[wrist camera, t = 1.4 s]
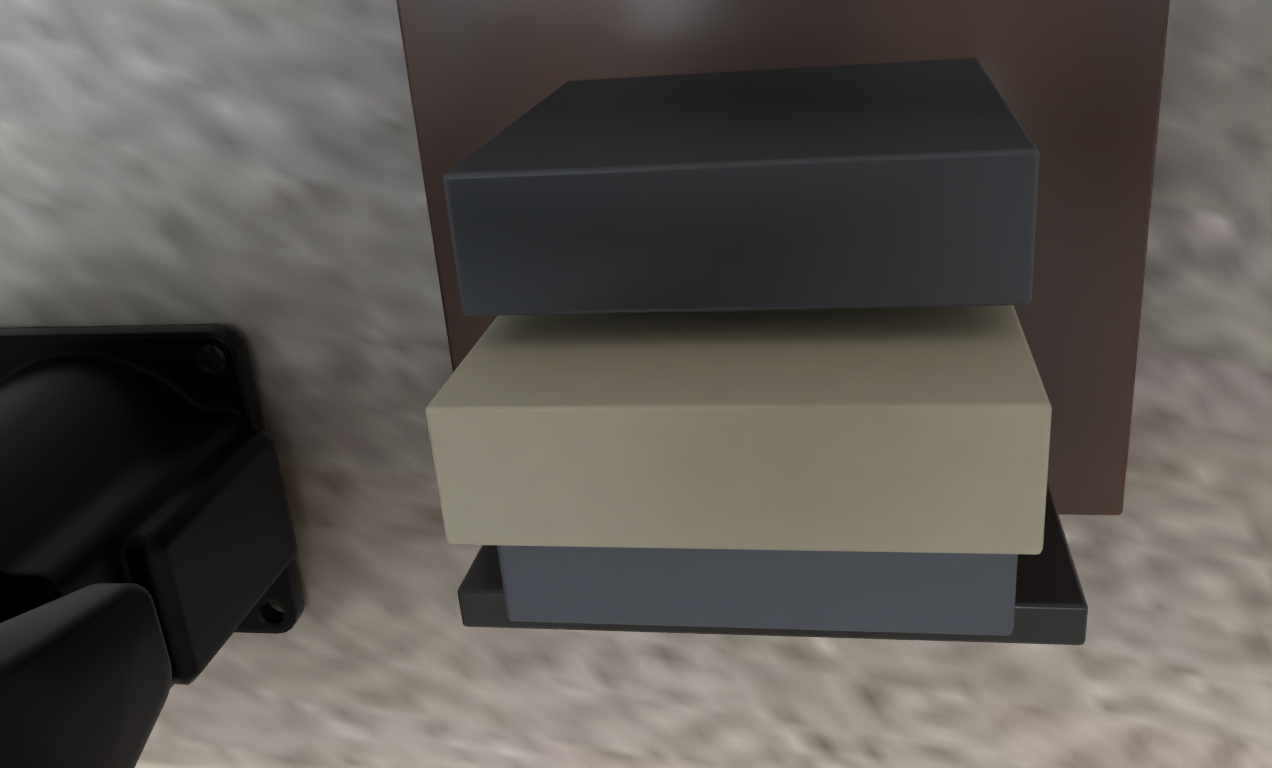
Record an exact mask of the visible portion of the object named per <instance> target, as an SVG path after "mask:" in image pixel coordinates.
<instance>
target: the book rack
mask: <svg viewBox="0 0 1272 768" xmlns="http://www.w3.org/2000/svg"><path fill="white" fill-rule="evenodd" d="M396 1H397V7H398V14H399V20H400V27H401V34H402V40H403V47H404V53H405V60H406V66H407V73H408V80H409V86H410V93H411V99H412V106H413V112H414V119H415V126H416V132H417V139H418V145H419V152H420V158H421V165H422V171H423V178H424V185H425V191H426V198H427V204H428V211H429V217H430V224H431V231H432V237H433V244H434V250H435V257H436V263H437V270H438V277H439V283H440V290H441V296H442V303H443V309H444V316H445V323H446V329H447V336H448V342H449V349H450V355H451V362H452V369H453V372H454V371H455V370H456V368H457V367H458V366H459V365H460V363H461V362H462V361H463V359H464V358H465V357H466V356H467V354H468V353H469V352H470V351H471V349H472V348H473V347H474V345H475V344H476V343H477V342H478V340H479V339H480V338H481V337H482V335H483V334H484V333H485V331H486V330H487V329H488V328H489V326H490V325H491V324H492V323H493V321H494V320H495V319H496V317H497V316H465V315H464V314H463V312H462V305H461V298H460V291H459V285H458V278H457V271H456V264H455V257H454V250H453V243H452V237H451V230H450V223H449V216H448V209H447V202H446V195H445V189H444V182H443V177H444V174H446V173H447V172H448V171H449V170H451V169H452V168H453V167H455V166H456V165H457V164H459V163H460V162H461V161H463V160H464V159H465V158H467V157H468V156H469V155H471V154H472V153H473V152H475V151H476V150H477V149H479V148H480V147H481V146H483V145H484V144H485V143H487V142H488V141H489V140H491V139H492V138H493V137H494V136H496V135H497V134H498V133H500V132H501V131H502V130H504V129H505V128H506V127H508V126H509V125H510V124H512V123H513V122H514V121H516V120H517V119H518V118H520V117H521V116H522V115H524V114H525V113H526V112H528V111H529V110H530V109H532V108H533V107H534V106H536V105H537V104H538V103H539V102H541V101H542V100H543V99H545V98H546V97H547V96H549V95H550V94H551V93H553V92H554V91H555V90H557V89H558V88H559V87H561V86H562V85H563V84H565V83H566V82H568V81H580V80H598V79H615V78H633V77H650V76H668V75H685V74H703V73H720V72H738V71H755V70H773V69H790V68H808V67H825V66H843V65H860V64H878V63H895V62H913V61H930V60H948V59H965V58H976V59H978V61H979V62H980V64H981V65H982V67H983V68H984V70H985V71H986V73H987V74H988V76H989V77H990V79H991V80H992V82H993V83H994V85H995V86H996V88H997V89H998V90H999V92H1000V93H1001V95H1002V96H1003V98H1004V99H1005V101H1006V102H1007V104H1008V105H1009V107H1010V108H1011V110H1012V111H1013V113H1014V114H1015V116H1016V117H1017V119H1018V120H1019V122H1020V123H1021V125H1022V126H1023V128H1024V129H1025V131H1026V132H1027V134H1028V135H1029V137H1030V138H1031V140H1032V141H1033V143H1034V144H1035V146H1036V147H1037V149H1038V151H1039V170H1038V189H1037V208H1036V227H1035V245H1034V264H1033V283H1032V300H1031V302H1030V304H1027V305H1013V306H1014V309H1015V311H1016V314H1017V317H1018V319H1019V322H1020V325H1021V327H1022V330H1023V333H1024V335H1025V338H1026V341H1027V343H1028V346H1029V349H1030V351H1031V354H1032V357H1033V359H1034V362H1035V365H1036V367H1037V370H1038V373H1039V375H1040V378H1041V381H1042V383H1043V386H1044V389H1045V391H1046V394H1047V397H1048V399H1049V402H1050V405H1051V407H1052V412H1051V428H1050V444H1049V460H1048V476H1047V492H1046V507H1045V523H1044V539H1043V549H1042V551H1041V553H1040V554H1018V558H1017V576H1016V595H1015V614H1014V629H1013V631H1012V633H1011V635H1007V636H1002V635H968V634H934V633H900V632H865V631H831V630H797V629H763V628H728V627H694V626H660V625H625V624H591V623H557V622H523V621H511V620H509V619H508V616H507V610H506V603H505V596H504V589H503V582H502V576H501V569H500V562H499V555H498V548H497V545H482V547H481V549H480V550H479V552H478V554H477V556H476V558H475V560H474V561H473V563H472V565H471V567H470V569H469V571H468V573H467V574H466V576H465V578H464V580H463V582H462V584H461V585H460V587H459V589H458V597H459V603H460V609H461V615H462V622H463V625H464V626H468V627H501V628H534V629H567V630H600V631H633V632H666V633H699V634H733V635H766V636H799V637H832V638H865V639H898V640H931V641H964V642H997V643H1030V644H1063V645H1082V644H1084V642H1085V639H1086V627H1087V615H1088V606H1087V603H1086V600H1085V596H1084V593H1083V590H1082V587H1081V584H1080V581H1079V578H1078V575H1077V572H1076V569H1075V565H1074V562H1073V559H1072V556H1071V553H1070V550H1069V547H1068V544H1067V541H1066V538H1065V534H1064V531H1063V528H1062V525H1061V522H1060V519H1059V516H1058V514H1073V515H1120V514H1121V513H1122V511H1123V501H1124V490H1125V479H1126V468H1127V457H1128V447H1129V436H1130V425H1131V414H1132V403H1133V392H1134V381H1135V370H1136V360H1137V349H1138V338H1139V327H1140V316H1141V305H1142V294H1143V284H1144V273H1145V262H1146V251H1147V240H1148V229H1149V218H1150V207H1151V197H1152V186H1153V175H1154V164H1155V153H1156V142H1157V131H1158V121H1159V110H1160V99H1161V88H1162V77H1163V66H1164V55H1165V44H1166V34H1167V23H1168V12H1169V1H1170V0H396Z"/></svg>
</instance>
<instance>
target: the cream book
mask: <svg viewBox="0 0 1272 768" xmlns="http://www.w3.org/2000/svg"><path fill="white" fill-rule="evenodd" d="M1051 412H1052V407H1051V405H1050V402H1049V399H1048V397H1047V394H1046V391H1045V389H1044V386H1043V383H1042V381H1041V378H1040V375H1039V373H1038V370H1037V367H1036V365H1035V362H1034V359H1033V357H1032V354H1031V351H1030V349H1029V346H1028V343H1027V341H1026V338H1025V335H1024V333H1023V330H1022V327H1021V325H1020V322H1019V319H1018V317H1017V314H1016V311H1015V309H1014V306H1013V305H1007V306H957V307H907V308H857V309H807V310H757V311H707V312H657V313H607V314H557V315H507V316H497V317H496V319H495V320H494V321H493V323H492V324H491V325H490V326H489V328H488V329H487V330H486V331H485V333H484V334H483V335H482V337H481V338H480V339H479V340H478V342H477V343H476V344H475V345H474V347H473V348H472V349H471V351H470V352H469V353H468V354H467V356H466V357H465V358H464V359H463V361H462V362H461V363H460V365H459V366H458V367H457V368H456V370H455V371H454V372H453V373H452V375H451V376H450V377H449V379H448V380H447V381H446V382H445V384H444V385H443V386H442V387H441V389H440V390H439V391H438V393H437V394H436V395H435V396H434V398H433V399H432V400H431V401H430V403H429V404H428V405H427V407H426V409H425V413H426V419H427V426H428V432H429V438H430V444H431V450H432V456H433V462H434V468H435V474H436V480H437V486H438V492H439V498H440V505H441V511H442V517H443V523H444V529H445V535H446V541H447V543H448V544H451V545H509V546H567V547H626V548H685V549H744V550H802V551H861V552H920V553H979V554H1040V553H1041V551H1042V549H1043V539H1044V523H1045V507H1046V492H1047V476H1048V460H1049V444H1050V428H1051Z"/></svg>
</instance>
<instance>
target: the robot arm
mask: <svg viewBox="0 0 1272 768" xmlns="http://www.w3.org/2000/svg"><path fill="white" fill-rule="evenodd" d="M209 345H212V346H216V347H217V348H218V349H219V350H221V351H222V353H223V355H224V357H225V363H224V362H220V361H218V360H216V359H215V358H214V357H213V356H212V354H211V352H210V350H209ZM296 554H297V544H296V539H295V535H294V530H293V526H292V521H291V517H290V512H289V508H288V503H287V499H286V494H285V490H284V485H283V481H282V476H281V472H280V467H279V463H278V458H277V454H276V449H275V445H274V442H273V441H272V440H271V438H270V437H269V436H268V434H267V433H266V431H265V427H264V422H263V418H262V413H261V409H260V404H259V400H258V395H257V391H256V387H255V382H254V378H253V373H252V369H251V364H250V360H249V355H248V351H247V348H246V345H245V343H244V341H243V339H242V338H241V337H240V336H239V335H238V333H237V332H236V331H234V330H232V329H230V328H229V327H227V326H223V325H217V324H211V325H159V326H108V327H56V328H5V329H0V768H135V765H136V763H137V761H138V759H139V757H140V755H141V753H142V750H143V748H144V746H145V744H146V742H147V740H148V738H149V736H150V733H151V731H152V729H153V727H154V725H155V723H156V721H157V718H158V716H159V714H160V712H161V710H162V708H163V706H164V703H165V701H166V699H167V696H168V694H169V690H170V688H171V687H172V686H173V685H174V684H185V685H189V684H190V683H191V682H193V681H194V680H195V679H196V678H197V676H198V675H199V674H200V673H201V672H202V671H203V670H204V668H205V667H206V666H207V665H208V663H209V662H210V661H211V660H212V658H213V657H214V656H215V655H216V653H217V652H218V651H219V650H220V648H221V647H222V646H223V645H224V643H225V642H226V641H227V640H228V639H229V637H230V636H231V635H232V634H233V632H244V633H274V634H278V633H284V632H287V631H288V630H290V629H291V628H292V627H293V626H294V625H295V623H296V622H297V621H298V619H299V618H300V616H301V614H302V613H303V611H304V601H303V596H302V592H301V587H300V583H299V578H298V574H297V569H296V565H295V561H294V557H295V555H296ZM270 602H273V603H276V604H277V605H279V606H280V607H281V608H282V610H283V612H281V611H277V610H276V609H274V608H273V607H272V606H271V604H270Z"/></svg>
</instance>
